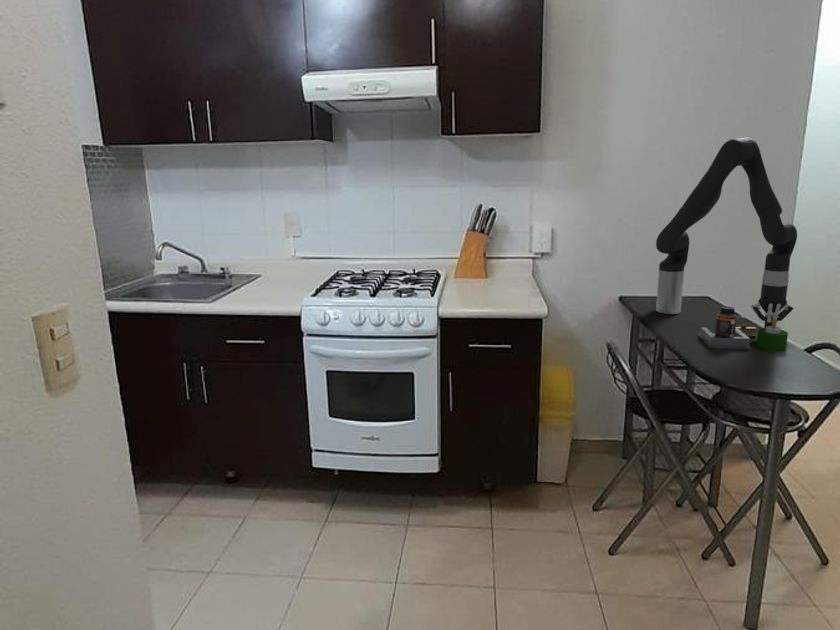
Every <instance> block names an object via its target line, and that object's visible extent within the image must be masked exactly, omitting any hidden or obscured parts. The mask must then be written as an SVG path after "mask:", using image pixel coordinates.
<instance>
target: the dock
mask: <svg viewBox="0 0 840 630" xmlns="http://www.w3.org/2000/svg"><path fill="white" fill-rule="evenodd" d="M698 337H699V338H700V339H701V340H702V342H704V343H705V344H706V345H707V347H709V349H727V350H728V349H729V350H731V349H732V350H734V349H736V350H750V349H751V346H750V343H751V337H748V336H746V335H745V334H744V333H743V332H742V331H740V330H739V329H738V328H736V331H735V337H715V333H713V332H711V330H710V329H708V328H707V327H706V326H705V327H704V326H701V327H700V332H699V333H698Z"/></svg>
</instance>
